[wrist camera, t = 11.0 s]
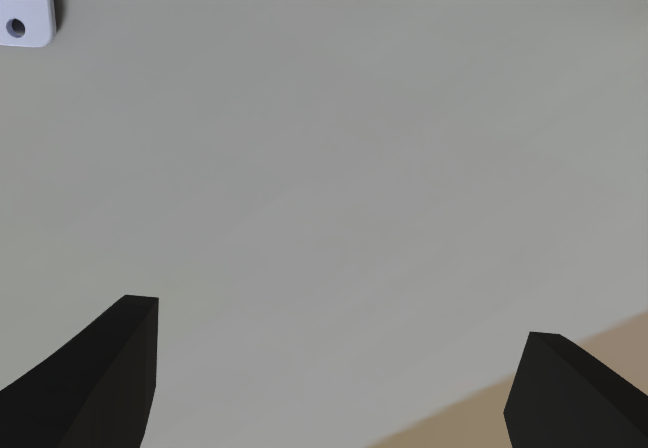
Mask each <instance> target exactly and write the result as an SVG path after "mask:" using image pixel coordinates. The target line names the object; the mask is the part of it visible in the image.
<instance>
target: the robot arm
mask: <svg viewBox="0 0 648 448" xmlns="http://www.w3.org/2000/svg"><path fill="white" fill-rule="evenodd" d="M14 19H18V20H20V21H21V22H22V23H23V24H24V26H25V34H24V35H23V36H20V35H18V34H16V33H15V32H14V30H13V28H12V21H13V20H14ZM55 36H56V20H55V10H54V0H0V45H10V46H24V47H43V46H46V45H48V44H49V43H51V42H53V40H54V38H55ZM158 304H159V298H156V297H145V296H134V295H124V296H123V297H122V298H120V299H119V300H118V301H117V302H115V303H114V304H113V305H112V306H110V307H109V308H108V309H107V310H106V311H105V312H103V313H102V314H101V315H100V316H99V317H98V318H96V319H95V320H94V321H93V322H92V323H91V324H89V325H88V326H87V327H86V328H85V329H83V330H82V331H81V332H80V333H79V334H77V335H76V336H75V337H73V338H72V339H71V340H70V341H68V342H67V343H66V344H65V345H63V346H62V347H61V348H60V349H58V350H57V351H56V352H55V353H53V354H52V355H51V356H49V357H48V358H47V359H45V360H44V361H43V362H41V363H40V364H38V365H37V366H36V367H34V368H33V369H31V370H30V371H28V372H27V373H26V374H24V375H23V376H21V377H20V378H19V379H17V380H16V381H14V382H13V383H12V384H10V385H8V386H7V387H5V388H4V389H2V390H1V391H0V448H140V445H141V442H142V440H143V437H144V434H145V430H146V426H147V422H148V418H149V414H150V409H151V405H152V401H153V396H154V392H155V388H156V367H157V336H158ZM503 413H504V418H505V422H506V425H507V429H508V433H509V437H510V441H511V444H512V447H513V448H648V396H647V395H646V394H644V393H643V392H642V391H640V390H639V389H638V388H636V387H635V386H633V385H632V384H631V383H629V382H628V381H626V380H625V379H624V378H622V377H621V376H620V375H618V374H617V373H616V372H614V371H613V370H611V369H610V368H609V367H607V366H606V365H604V364H603V363H602V362H600V361H599V360H597V359H596V358H595V357H593V356H592V355H590V354H589V353H588V352H586V351H585V350H583V349H582V348H581V347H579V346H578V345H576V344H575V343H573V342H572V341H570V340H568V339H567V338H565V337H563V336H562V335H560V334H552V333H541V332H530V333H529V336H528V339H527V342H526V345H525V348H524V351H523V354H522V357H521V360H520V363H519V366H518V369H517V373H516V376H515V379H514V382H513V385H512V388H511V391H510V394H509V398H508V400H507V403H506V406H505V409H504V412H503Z"/></svg>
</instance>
